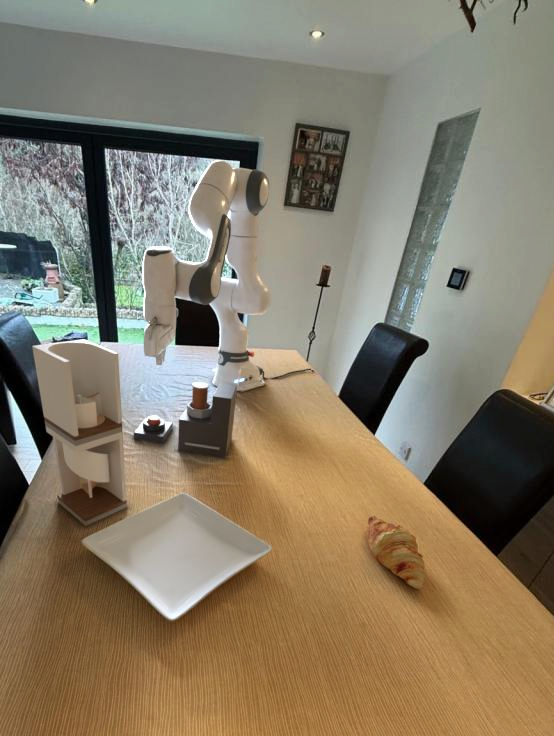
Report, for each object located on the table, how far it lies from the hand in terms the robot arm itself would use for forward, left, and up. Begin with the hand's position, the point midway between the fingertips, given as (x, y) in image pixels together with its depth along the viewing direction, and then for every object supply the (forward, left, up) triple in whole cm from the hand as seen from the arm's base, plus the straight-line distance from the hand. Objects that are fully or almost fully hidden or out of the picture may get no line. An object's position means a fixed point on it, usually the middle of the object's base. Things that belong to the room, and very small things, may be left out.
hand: (160, 363), depth 124 cm
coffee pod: (-3, +18, -10) cm, 20 cm away
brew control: (+5, +5, -20) cm, 21 cm away
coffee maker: (-5, +19, -20) cm, 28 cm away
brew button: (+5, +5, -16) cm, 18 cm away
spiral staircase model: (+35, +32, -20) cm, 52 cm away
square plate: (+27, +57, -20) cm, 66 cm away
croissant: (-12, +80, -20) cm, 83 cm away
